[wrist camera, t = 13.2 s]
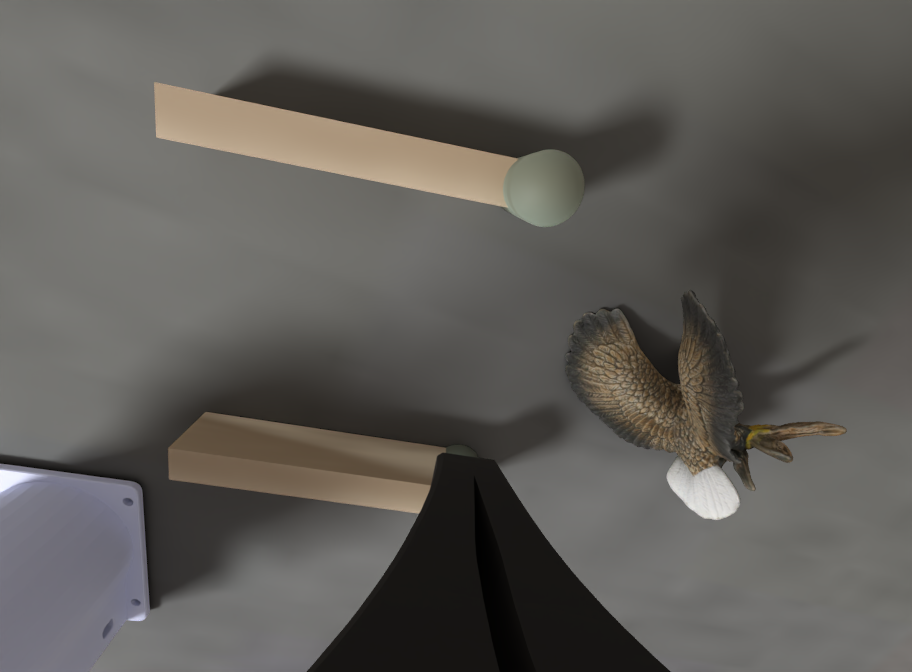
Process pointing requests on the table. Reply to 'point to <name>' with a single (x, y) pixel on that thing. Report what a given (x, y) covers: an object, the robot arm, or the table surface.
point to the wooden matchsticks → (373, 158)
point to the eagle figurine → (677, 404)
